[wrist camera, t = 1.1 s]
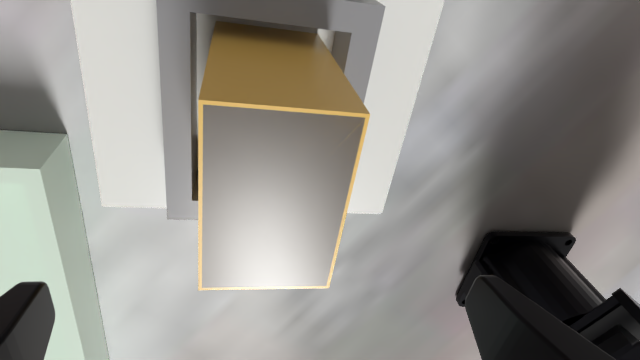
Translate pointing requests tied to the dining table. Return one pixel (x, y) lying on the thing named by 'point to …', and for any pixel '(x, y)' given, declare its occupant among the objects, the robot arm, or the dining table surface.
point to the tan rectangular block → (273, 159)
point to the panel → (187, 75)
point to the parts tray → (49, 239)
